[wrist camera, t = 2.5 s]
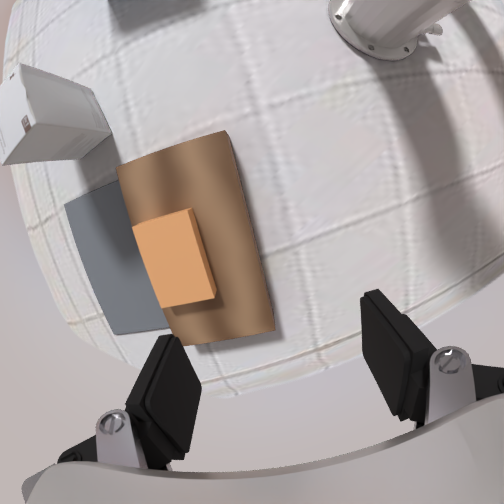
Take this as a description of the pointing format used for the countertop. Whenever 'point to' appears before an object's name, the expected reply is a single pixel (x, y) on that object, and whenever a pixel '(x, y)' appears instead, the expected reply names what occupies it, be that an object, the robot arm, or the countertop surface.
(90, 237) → the mat
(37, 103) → the skincare box
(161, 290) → the tan foam pad
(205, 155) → the brown wooden block
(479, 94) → the countertop surface
